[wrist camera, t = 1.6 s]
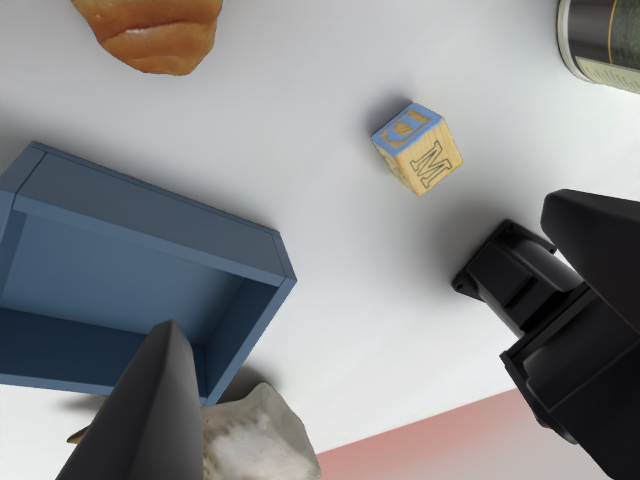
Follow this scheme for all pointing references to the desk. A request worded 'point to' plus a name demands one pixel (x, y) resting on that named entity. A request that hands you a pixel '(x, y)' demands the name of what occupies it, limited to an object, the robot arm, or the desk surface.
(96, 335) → the blue open box
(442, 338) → the desk surface
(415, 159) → the alphabet block
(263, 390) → the ceramic sculpture
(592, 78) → the coffee can
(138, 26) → the pastry
